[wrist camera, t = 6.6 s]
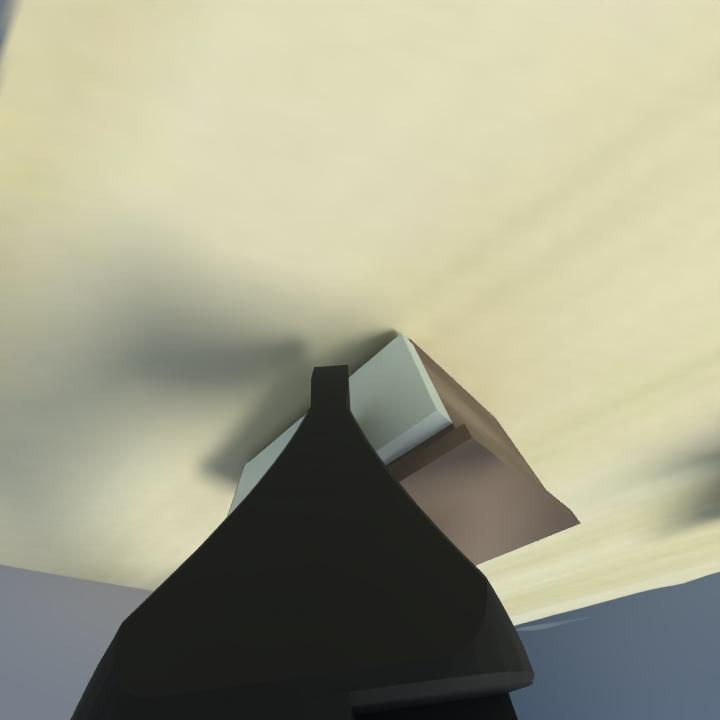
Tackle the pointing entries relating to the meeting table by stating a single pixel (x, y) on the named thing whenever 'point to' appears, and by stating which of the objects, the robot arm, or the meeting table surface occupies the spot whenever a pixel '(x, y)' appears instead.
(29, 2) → the meeting table surface
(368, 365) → the cabinet door
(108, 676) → the robot arm
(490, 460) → the cabinet
